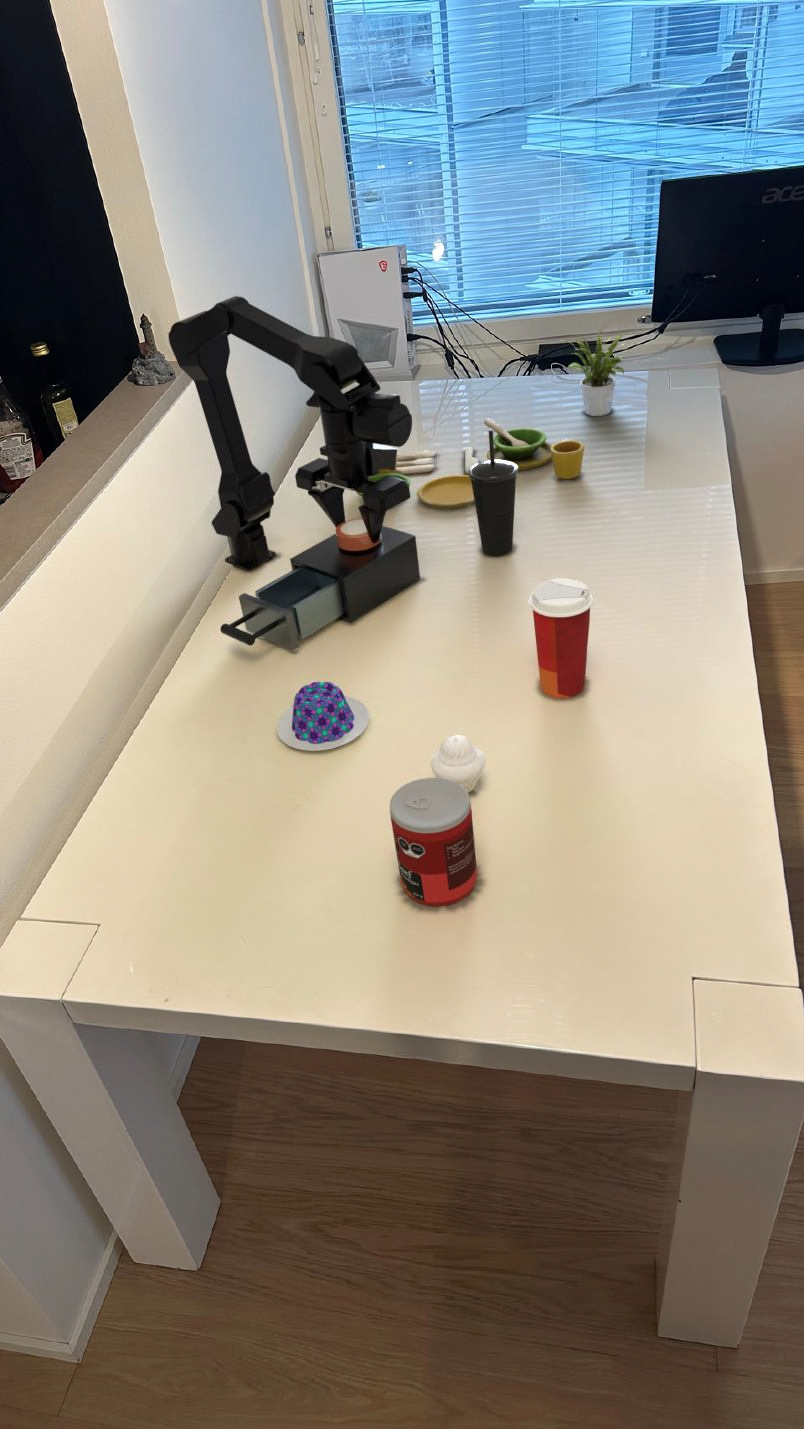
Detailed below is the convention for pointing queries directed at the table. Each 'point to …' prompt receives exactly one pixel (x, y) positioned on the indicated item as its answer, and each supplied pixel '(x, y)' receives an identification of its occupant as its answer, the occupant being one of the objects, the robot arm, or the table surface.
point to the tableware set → (509, 446)
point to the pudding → (322, 718)
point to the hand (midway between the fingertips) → (358, 536)
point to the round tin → (354, 535)
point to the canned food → (434, 840)
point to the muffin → (458, 762)
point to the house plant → (598, 377)
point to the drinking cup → (494, 501)
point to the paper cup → (561, 635)
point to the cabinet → (365, 569)
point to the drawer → (288, 609)
